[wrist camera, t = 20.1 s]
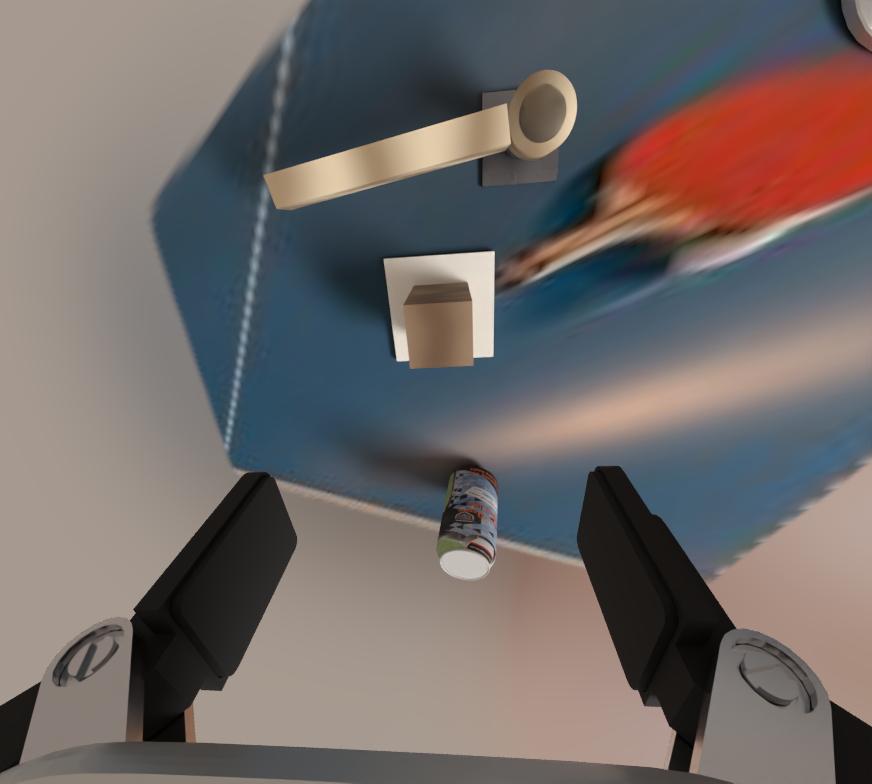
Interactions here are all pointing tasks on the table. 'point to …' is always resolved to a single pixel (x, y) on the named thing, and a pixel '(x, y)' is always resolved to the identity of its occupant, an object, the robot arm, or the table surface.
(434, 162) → the swing arm
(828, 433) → the table surface
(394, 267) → the tile
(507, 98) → the pivot plate
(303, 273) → the table surface
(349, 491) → the table surface
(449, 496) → the beverage can
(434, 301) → the walnut block
